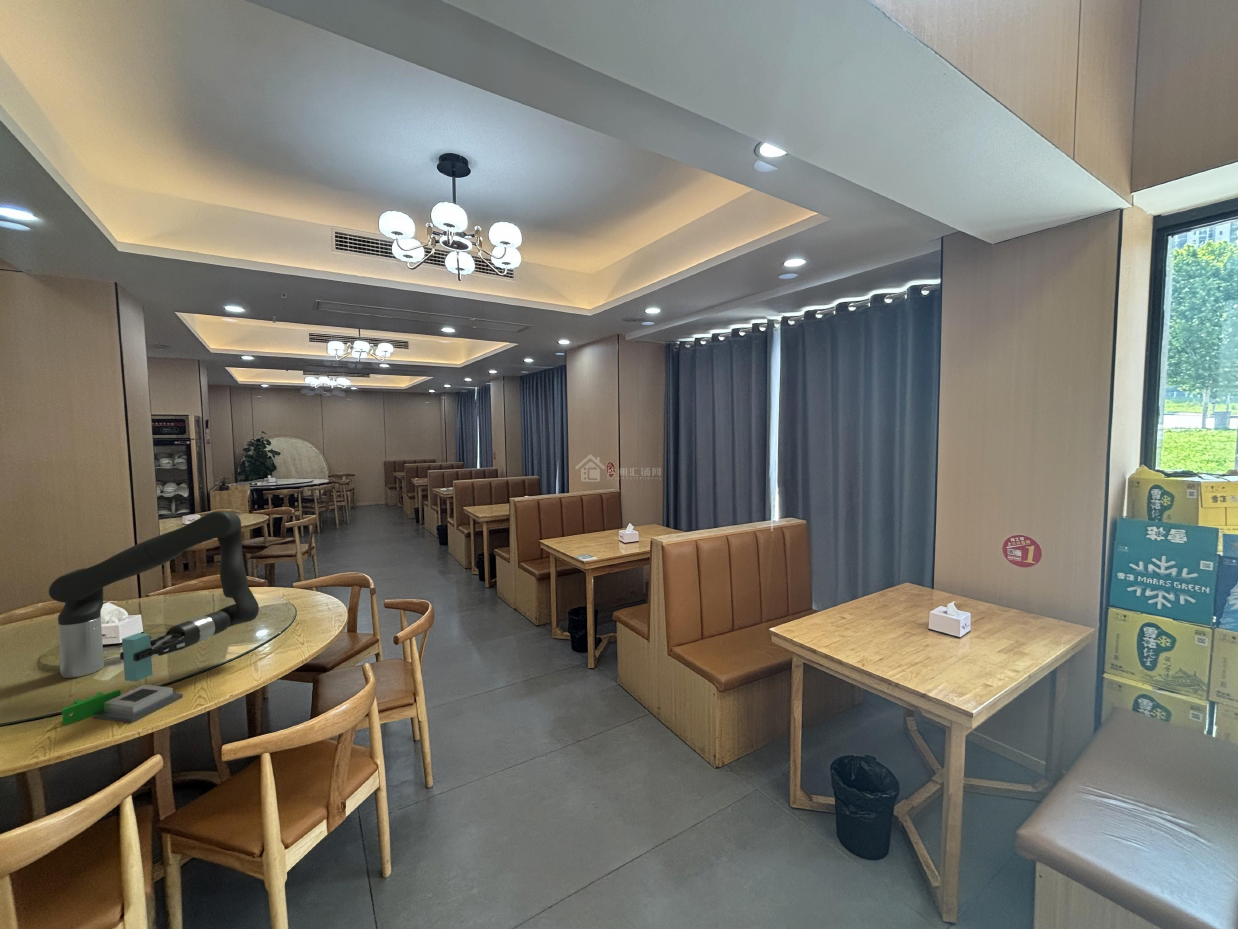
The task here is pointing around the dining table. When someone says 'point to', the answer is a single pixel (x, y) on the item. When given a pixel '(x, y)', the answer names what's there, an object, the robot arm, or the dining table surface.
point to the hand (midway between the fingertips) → (128, 657)
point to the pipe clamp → (87, 707)
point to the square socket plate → (134, 718)
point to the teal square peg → (136, 668)
